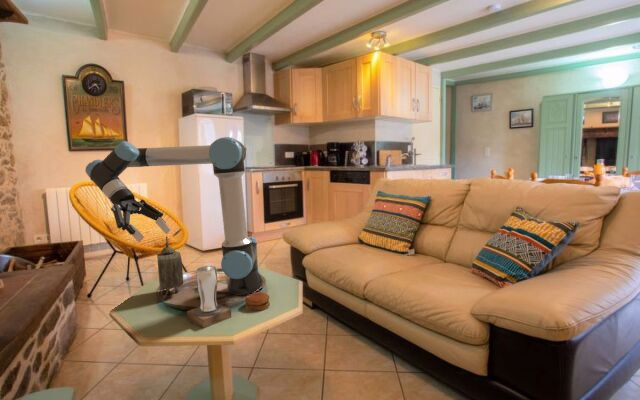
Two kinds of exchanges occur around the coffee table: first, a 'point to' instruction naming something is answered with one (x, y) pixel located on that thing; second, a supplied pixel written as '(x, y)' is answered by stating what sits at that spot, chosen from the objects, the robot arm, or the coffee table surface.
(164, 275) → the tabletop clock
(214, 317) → the walnut plinth
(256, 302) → the burger
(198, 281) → the silver metal cup
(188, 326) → the coffee table surface
